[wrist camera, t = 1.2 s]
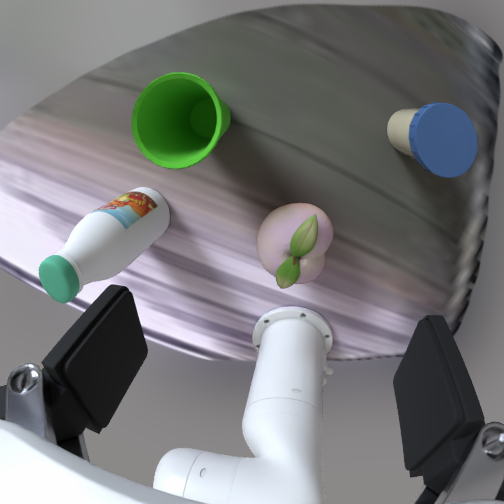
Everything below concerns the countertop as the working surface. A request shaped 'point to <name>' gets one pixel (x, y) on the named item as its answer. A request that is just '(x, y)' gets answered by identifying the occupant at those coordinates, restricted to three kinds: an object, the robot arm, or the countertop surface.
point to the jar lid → (443, 139)
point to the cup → (179, 120)
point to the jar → (401, 130)
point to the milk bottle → (105, 243)
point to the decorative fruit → (294, 243)
